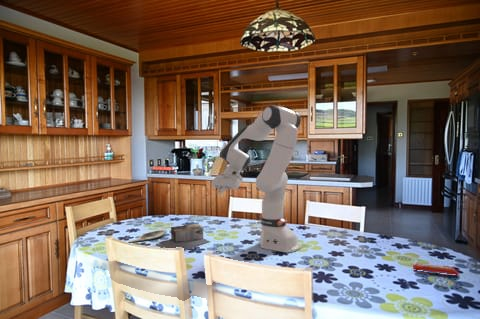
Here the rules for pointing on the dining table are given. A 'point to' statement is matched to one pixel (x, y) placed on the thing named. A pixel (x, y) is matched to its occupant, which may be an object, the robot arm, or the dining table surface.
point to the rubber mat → (183, 243)
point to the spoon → (150, 235)
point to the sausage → (435, 268)
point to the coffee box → (186, 232)
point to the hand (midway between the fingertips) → (219, 193)
